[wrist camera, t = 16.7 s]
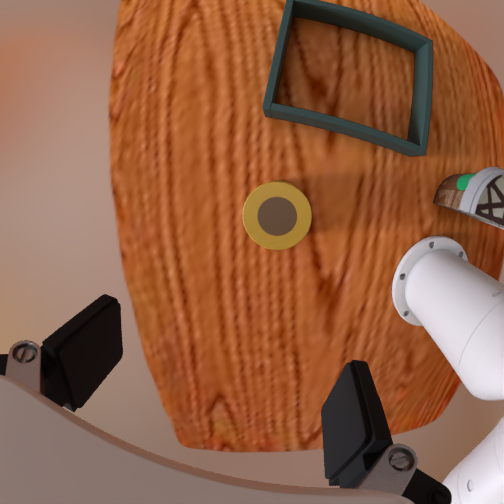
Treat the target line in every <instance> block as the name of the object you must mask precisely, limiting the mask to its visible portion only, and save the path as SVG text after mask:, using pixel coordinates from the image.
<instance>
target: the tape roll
mask: <svg viewBox="0 0 504 504" xmlns="http://www.w3.org/2000/svg"><path fill="white" fill-rule="evenodd" d="M311 221H312V211H311V207H310V204H309V201H308V200H307V198H306V196H305V195H304V194H303V193H302V192H301V190H300V189H299V188H297V187H296V186H295V185H293V184H291V183H289V182H286V181H281V180H276V181H270V182H267V183H265V184H263V185H261V186H259V187H257V188H256V189H255V190H254V191H253V192H252V193H251V194H250V195H249V196H248V198H247V200H246V202H245V204H244V208H243V223H244V227H245V229H246V231H247V233H248V235H249V236H250V237H251V238H252V239H253V240H254V241H255V242H256V243H257V244H259V245H261V246H263V247H265V248H268V249H273V250H283V249H287V248H290V247H293V246H294V245H296V244H298V243H299V242H300V241H301V240H302V239H303V238H304V237H305V236H306V234H307V233H308V231H309V228H310V225H311Z"/></svg>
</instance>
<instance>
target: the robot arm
mask: <svg viewBox="0 0 504 504" xmlns="http://www.w3.org/2000/svg"><path fill="white" fill-rule="evenodd" d="M401 274H402V275H401ZM400 275H401V276H400ZM392 297H393V302H394V305H395V308H396V310H397V311H398V313H399V314H400V316H401V317H402V318H403V319H404V320H405V321H407V322H408V323H411V324H413V325H418V326H424V328H425V329H426V330H427V332H428V333H429V334H430V336H431V337H432V338H433V340H434V341H435V343H436V344H437V345H438V347H439V348H440V350H441V351H442V352H443V354H444V355H445V357H446V358H447V360H448V361H449V363H450V364H451V366H452V367H453V368H454V370H455V371H456V373H457V374H458V376H459V377H460V379H461V380H462V382H463V383H464V385H465V386H466V387H467V389H468V390H469V391H470V393H472V394H473V395H474V396H476V397H477V398H479V399H483V400H504V285H503V284H501V283H500V282H498V281H497V280H495V279H494V278H492V277H491V276H489V275H488V274H486V273H485V272H483V271H482V270H480V269H478V268H477V267H475V266H474V265H472V264H470V263H469V262H468V258H467V255H466V253H465V251H464V249H463V248H462V246H461V245H460V244H459V243H457V242H456V241H455V240H453V239H451V238H448V237H446V236H438V235H436V236H431V237H428V238H425V239H423V240H421V241H419V242H418V243H416V244H415V245H414V246H413V247H412V248H411V249H410V250H408V252H407V253H406V254H405V256H404V257H403V258H402V260H401V262H400V263H399V265H398V267H397V270H396V272H395V275H394V279H393V284H392ZM42 343H43V345H42V346H41V347H39V345H38V344H36V343H35V342H32V341H28V340H25V341H20V342H17V343H16V344H14V345H13V346H12V347H11V348H10V351H9V354H0V504H504V416H503V417H502V419H501V420H500V421H499V423H498V424H497V426H496V427H495V428H494V429H493V430H492V431H491V432H490V433H489V434H488V435H487V437H486V438H485V439H484V440H483V441H482V442H481V443H480V444H479V445H478V446H477V447H476V448H475V449H474V450H473V451H471V453H469V454H468V455H467V456H466V457H465V458H464V459H463V460H462V461H461V462H460V463H459V464H458V465H457V466H456V467H455V468H454V469H453V470H452V471H451V472H450V473H449V474H448V476H447V477H446V479H445V480H444V481H443V483H442V484H441V483H440V482H438V481H436V480H435V479H433V478H432V477H430V476H428V475H427V474H425V473H424V472H422V471H420V470H419V469H417V465H418V458H417V455H416V453H415V452H414V451H413V449H411V448H410V447H409V446H406V445H404V444H393V442H392V438H391V434H390V431H389V427H388V424H387V420H386V417H385V414H384V410H383V407H382V404H381V401H380V398H379V396H378V394H377V391H376V388H375V385H374V382H373V379H372V376H371V373H370V370H369V367H368V364H367V362H365V361H358V360H352V361H351V362H350V363H347V364H346V365H345V367H344V369H343V371H342V372H341V374H340V376H339V378H338V380H337V382H336V384H335V385H334V387H333V389H332V391H331V393H330V394H329V396H328V398H327V399H326V401H325V403H324V405H323V406H322V410H321V419H322V432H323V448H324V466H325V477H326V479H329V485H330V486H334V485H335V486H336V485H337V486H340V488H315V487H299V486H288V485H279V484H271V483H264V482H257V481H251V480H246V479H241V478H236V477H231V476H226V475H222V474H218V473H214V472H210V471H205V470H202V469H198V468H195V467H192V466H188V465H185V464H182V463H179V462H176V461H173V460H170V459H167V458H164V457H162V456H159V455H156V454H153V453H151V452H148V451H146V450H143V449H141V448H139V447H136V446H134V445H132V444H129V443H127V442H125V441H122V440H121V439H119V438H116V437H114V436H112V435H110V434H108V433H106V432H104V431H102V430H100V429H98V428H96V427H95V426H93V425H91V424H89V423H87V422H86V421H84V420H82V419H81V418H79V417H77V416H75V415H74V414H72V413H70V412H69V411H67V410H65V409H64V408H62V407H63V406H64V407H66V408H68V409H69V410H71V411H73V412H75V411H76V409H77V408H81V407H82V406H83V405H84V404H85V403H86V402H87V400H88V399H89V398H90V396H91V395H92V394H93V393H94V391H95V390H96V389H97V388H98V387H99V385H100V384H101V383H102V381H103V380H104V379H105V378H106V377H107V375H108V374H109V373H110V372H111V371H112V369H113V368H114V367H115V366H116V364H117V363H118V362H119V361H120V360H121V358H122V355H123V348H122V331H121V307H120V304H119V303H118V301H117V299H116V298H114V297H111V296H109V295H106V294H104V295H102V296H101V297H99V298H98V299H97V300H95V301H94V302H93V303H91V304H90V305H89V306H87V307H86V308H85V309H83V310H82V311H81V312H79V313H78V314H77V315H76V316H74V317H73V318H72V319H70V320H69V321H68V322H67V323H65V324H64V325H63V326H62V327H60V328H59V329H58V330H57V331H55V332H54V333H53V334H52V335H50V336H49V337H48V338H47V339H45V341H43V342H42Z"/></svg>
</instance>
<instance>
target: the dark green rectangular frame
mask: <svg viewBox="0 0 504 504" xmlns="http://www.w3.org/2000/svg"><path fill="white" fill-rule="evenodd" d="M293 16H294V17H299V18H304V19H310V20H315V21H319V22H324V23H328V24H332V25H336V26H340V27H344V28H347V29H351V30H354V31H358V32H361V33H364V34H367V35H370V36H373V37H376V38H379V39H381V40H384V41H387V42H389V43H392V44H395V45H397V46H399V47H402V48H404V49H407V50H409V51H411V52H413V53H415V68H414V86H413V98H412V108H411V117H410V125H409V133H408V139H407V140H404V139H401V138H399V137H396V136H394V135H391V134H388V133H385V132H382V131H380V130H377V129H374V128H371V127H368V126H365V125H361V124H358V123H355V122H352V121H348V120H345V119H341V118H338V117H334V116H330V115H326V114H322V113H318V112H314V111H310V110H305V109H301V108H296V107H291V106H286V105H281V104H276V103H275V102H276V97H277V92H278V87H279V82H280V78H281V73H282V68H283V63H284V58H285V54H286V49H287V44H288V39H289V35H290V30H291V25H292V21H293ZM432 88H433V41H432V40H430V39H428V38H427V37H424V36H422V35H420V34H418V33H416V32H414V31H412V30H409V29H407V28H405V27H403V26H400V25H398V24H395V23H393V22H390V21H388V20H385V19H382V18H379V17H377V16H374V15H371V14H368V13H365V12H362V11H358V10H355V9H352V8H348V7H344V6H341V5H337V4H333V3H328V2H324V1H319V0H286V4H285V8H284V12H283V17H282V21H281V25H280V30H279V34H278V39H277V43H276V47H275V52H274V56H273V61H272V65H271V70H270V75H269V79H268V84H267V89H266V93H265V98H264V103H263V107H262V108H263V111H264V114H265V116H266V117H270V118H276V119H281V120H286V121H291V122H296V123H301V124H305V125H309V126H314V127H318V128H322V129H326V130H330V131H333V132H337V133H341V134H344V135H348V136H351V137H354V138H358V139H361V140H364V141H367V142H371V143H374V144H377V145H380V146H382V147H385V148H388V149H391V150H394V151H397V152H399V153H402V154H405V155H407V156H410V157H411V156H423V155H426V148H427V141H428V134H429V125H430V116H431V104H432Z"/></svg>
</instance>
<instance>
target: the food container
mask: <svg viewBox="0 0 504 504" xmlns="http://www.w3.org/2000/svg"><path fill="white" fill-rule="evenodd" d="M433 203H435V204H438V205H441V206H444V207H446V208H449V209H452V210H455V211H457V212H460V213H462V214H465V215H468V216H470V217H473V218H475V219H477V220H480V221H483V222H485V223H488V224H491V225H493V226H496V227H499V228H501V229H504V170H503V169H501V168H498V167H488V168H485V169H483V170H481V171H480V172H478V173H474V174H456V175H452V176H449V177H448V178H446V179H445V180H444V181H443V182H442V183H441V185H440V186H439V188H438V190H437V192H436V194H435V197H434V201H433Z"/></svg>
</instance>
